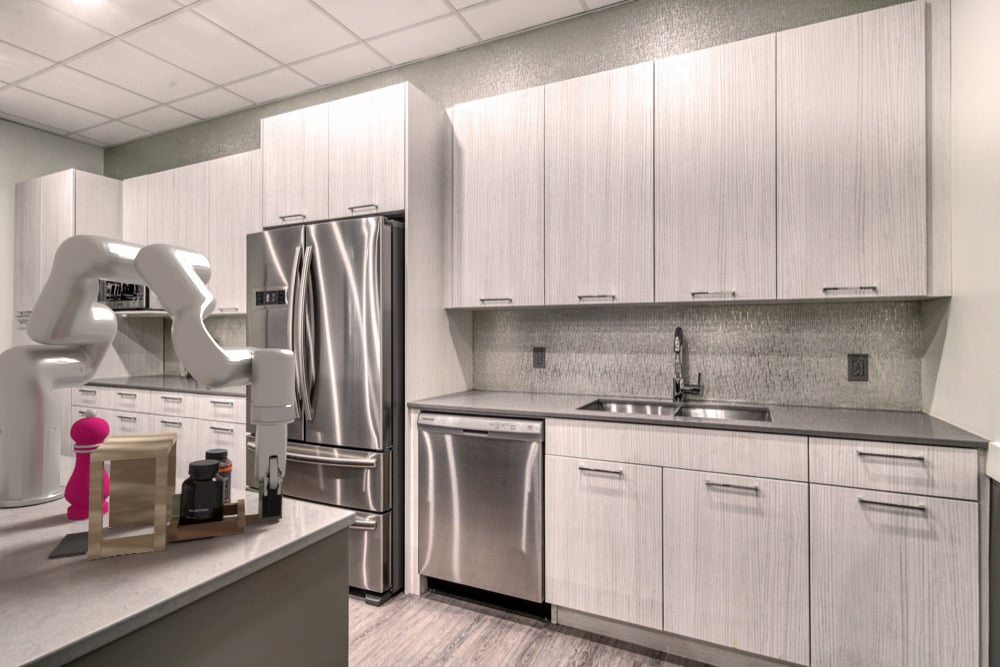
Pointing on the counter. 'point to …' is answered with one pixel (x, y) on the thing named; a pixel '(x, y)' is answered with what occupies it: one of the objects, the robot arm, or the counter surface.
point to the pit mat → (71, 545)
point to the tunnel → (132, 491)
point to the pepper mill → (85, 464)
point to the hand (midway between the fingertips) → (270, 510)
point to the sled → (220, 526)
